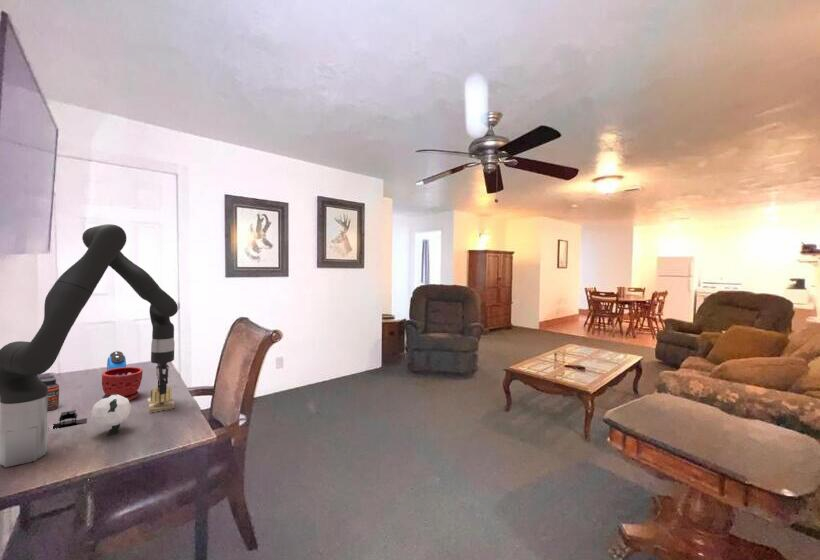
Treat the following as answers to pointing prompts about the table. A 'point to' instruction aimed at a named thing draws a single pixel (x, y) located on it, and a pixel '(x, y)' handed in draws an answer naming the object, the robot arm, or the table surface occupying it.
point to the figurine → (111, 412)
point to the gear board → (162, 407)
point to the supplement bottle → (52, 393)
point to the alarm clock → (116, 361)
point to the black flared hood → (72, 422)
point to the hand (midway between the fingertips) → (161, 391)
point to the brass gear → (163, 397)
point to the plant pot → (122, 382)
